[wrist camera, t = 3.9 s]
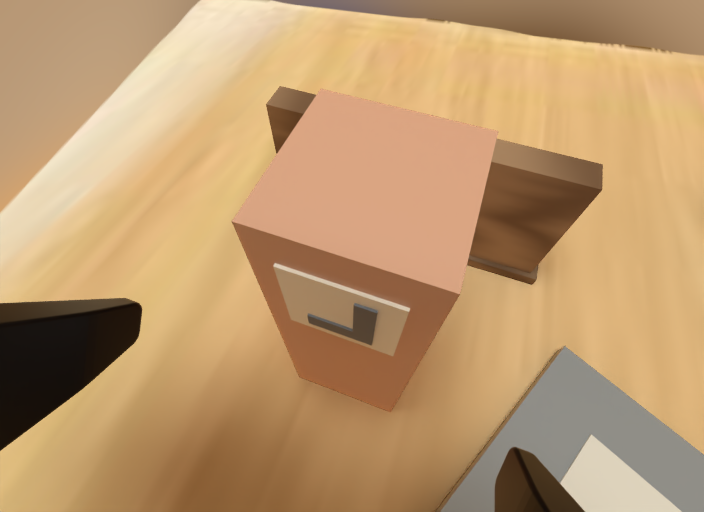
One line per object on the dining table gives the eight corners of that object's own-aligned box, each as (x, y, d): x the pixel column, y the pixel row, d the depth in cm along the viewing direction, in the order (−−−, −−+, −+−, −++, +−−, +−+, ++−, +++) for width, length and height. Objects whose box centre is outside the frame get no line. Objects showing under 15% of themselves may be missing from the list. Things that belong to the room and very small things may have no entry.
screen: (535, 255, 24) (611, 162, 17) (532, 284, 23) (612, 197, 16) (294, 185, 27) (275, 81, 20) (280, 207, 25) (255, 106, 19)
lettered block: (389, 415, 19) (458, 301, 7) (298, 380, 19) (227, 227, 8) (416, 323, 21) (498, 131, 10) (334, 295, 22) (320, 88, 11)
